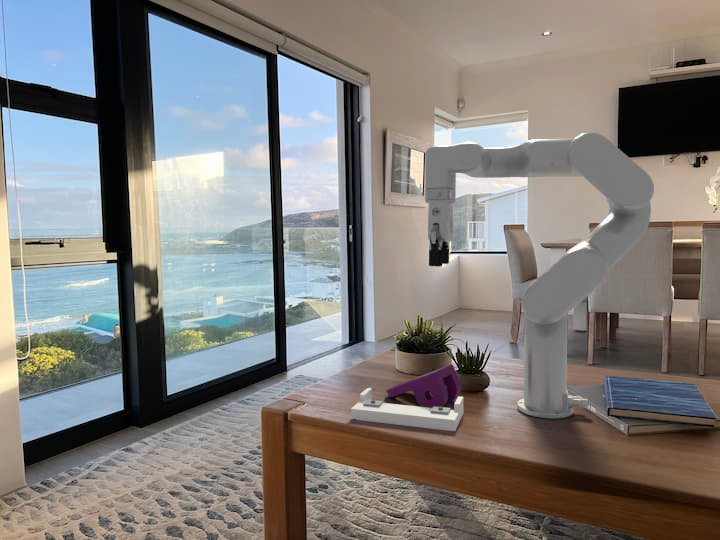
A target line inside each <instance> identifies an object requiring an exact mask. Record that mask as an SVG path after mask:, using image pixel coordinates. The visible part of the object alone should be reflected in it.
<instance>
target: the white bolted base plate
mask: <svg viewBox="0 0 720 540" xmlns="http://www.w3.org/2000/svg"><path fill="white" fill-rule="evenodd" d="M463 416H464V396H460V395H459V396H458V398H456V399H455V401H454V406H453V409H451V407H445V406H443V407H436V406H433V407H432V408H428V407H421V406H416V405H406V404H398V403H397V404H395V403H388V402H384V400H377V399H376V400H375V399H373V389H372V387H367V388H366V389H364V390H363V391H362V392H361V393H360V394H359V400H358V402H356V403H355V405H353V406H352V407H351V408H350V419H351V420H353V419H356V420H355V421H363V422H371V423H373V422H374V423H380V424H389V425H398V426H406V427H413V428H414V427H415V428H422V429H433V430H439V431H440V430H441V431H448V432H456V430H457V429H458V428H457V427H458V426H459V424H460V422H461V420H462V418H463Z"/></svg>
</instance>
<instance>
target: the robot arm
mask: <svg viewBox="0 0 720 540" xmlns="http://www.w3.org/2000/svg"><path fill="white" fill-rule="evenodd" d="M424 172H425V175H424V176H425V178H424V179H425V180H424V181H425V182H424V183H425V186H424V187H425V189H424V192H425V193H424V195H425V196H424V197H425V198H424V203H426V204H427V203H428V215H427V217H428V218H427V220H428V221H427V239H428V241H429V247H428V248H429V249H428V266H429V267H442V266H443V265H448V264H449V263H450V244H449V243H450V242H453V240H454V214H453V203H456V192H457V191H456V190H457V189H456V187H457V186H456V185H457V182H456V181H457V179H456V178H457V174H463V175H466V176H468V177H471V178H478V179H479V178H480V179H481V178H482V179H484V178H486V179H488V178H491V179H492V178H494V179H495V178H498V179H499V178H503V179H504V178H538V177H539V178H546V177H549V178H550V177H552V178H553V177H557V178H558V177H561V178H562V177H563V178H564V177H571V178H572V177H574V178H575V177H576V178H577V177H581V178H584V179H586V181H587V182H588V183H589V184H591V185H592V186H593V187H594V188H595V189H596V190H597V191H598V192H600V194H602V195H603V196H604V197H605V198H606V200H607V201H606V202H607V203H608V206H609V209H608V213H607V215H606V217H605V218H604V219H603V221H601V222H600V223H599V224H597V226H596V227H595V228H594V229H593V230H592V231H590V232H589V234H587V235H586V236H585V237H584V238H583V239H582V240H580V241H579V242H578V243H577V244H575V246H573V247H571V248H569V249H568V250H567V251H566V252H565V253H564V254H563V255H562V256H561V257H560V258H559V259H558V260H556V261H555V263H554V264H552V266H550V267H549V268H548V269H546V270H545V272H544V273H542V274H541V275H540V276H539V277H538V278H536V279H534V280H533V281H531V282H530V284H528V286H527V287H526V288H525V290H524V292H523V293H522V296H521V299H520V300H521V303H520V304H521V309H522V312H523V314H524V330H523V331H524V338H523V339H524V343H523V344H524V345H523V398H521V399H519V400H518V401H517V403H516V404H517V405H516V407H517V409H518V411H520V412H521V413H523V414H525V415H528V416H532V417H536V418H542V419H550V420H551V419H552V420H553V419H564V418H568V417H570V416H572V415H574V407H578V408H584V409H585V408H586V409H588V408H589V399H588V398H583V397H582V396H572V395H571V394H569V390H568V389H567V381H568V380H567V378H568V377H567V376H568V375H567V374H568V322H569V321H568V317H569V316H568V314H569V312H571V311H572V310H573V309H574V308H575V307H577V306H578V305H579V304H580V303H581V302H583V300H585V299H586V298H587V297H588V296H589V295H591V294H592V293H593V292H594V291H595V290H596V289H597V288H599V286H601V284H602V283H603V282H604V280H605V279H606V277H607V273H608V271H609V269H611V268H612V267H613V266H614V265H615V264H617V262H619V260H621V259H622V258H623V257H624V255H626V254H627V253H628V252H629V251H630V250H631V249H632V248H633V247H634V246H635V245H636V244H637V243H639V241H640V240H641V239H642V238H643V236H644V235H645V233H646V231H647V229H648V226H649V224H650V220H651V216H652V215H651V214H652V207H651V206H652V204H651V200H652V198H653V196H654V193H655V184H654V181H653V179H652V177H651V176H650V175H649V174H648V173H647V172H646V171H645V170H644V169H643V168H642V167H641V166H639V165H638V164H637V163H636V162H635V161H634V160H632V159H631V158H630V157H629V156H628V155H627V154H626V153H624V152H623V151H622V150H621V149H620V148H618V147H617V146H616V145H615V144H614V143H613V142H611V140H610V139H609V138H607V137H606V136H605V135H603V134H601V133H597V132H584V133H581V134H579V135H578V136H576V137H572V138H546V139H545V138H539V139H537V138H536V139H531V140H527V141H525V142H523V143H520V144H518V145H514V146H508V147H483V146H481V145H480V143H477V142H473V141H472V142H471V141H465V142H462V143H457V144H453V145H433V146H430V147H428V148H427V149H426V151H425V171H424Z"/></svg>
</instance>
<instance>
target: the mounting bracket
mask: <svg viewBox="0 0 720 540" xmlns="http://www.w3.org/2000/svg"><path fill="white" fill-rule="evenodd" d="M385 391H386V393H387V396H388V398H393V397H395V396H400V395H401V394H405V393H408V392H410V391H411V392H413V394H414V397H415V400H416V402H417V403H418V405H419V407H428V408H432V407H433V406H436V407H445V406H446V404H449V403H451V402H453V401H456V400H457V398H458V396H460V395H461V393H462V392H461V391H462V384H461V381H460V378H459V377H458V373H457V372H456V369H455V367H454V365H453V363H452V364H449V365H446V366H444V367H442V368H438V369H436V370H433V371H430V372H428V373H425V374H421V375H419V376H416V377H413V378H411V379H408V380H406V381H404V382H401V383H398V384H396V385H394V386H392V387H388V388H387V389H386V390H385Z"/></svg>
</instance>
